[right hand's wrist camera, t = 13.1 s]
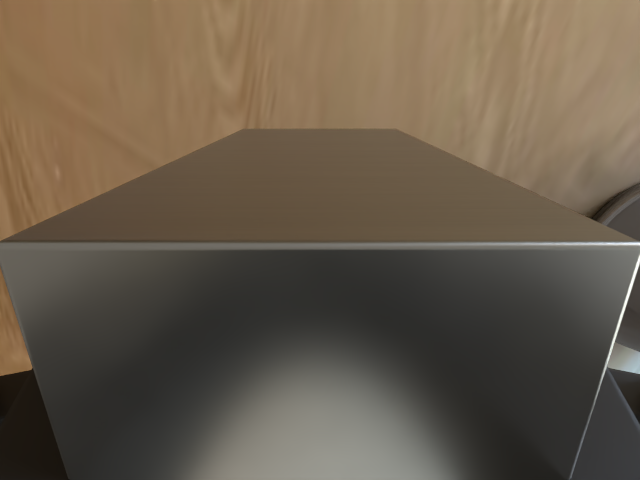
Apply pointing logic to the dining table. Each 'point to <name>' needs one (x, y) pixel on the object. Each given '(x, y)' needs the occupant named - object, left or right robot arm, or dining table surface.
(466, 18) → the dining table surface
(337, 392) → the box
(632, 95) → the dining table surface
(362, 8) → the dining table surface
